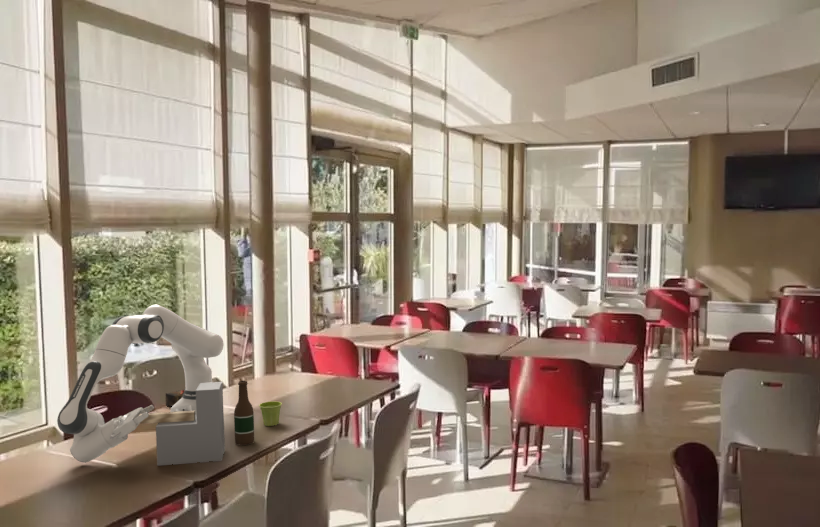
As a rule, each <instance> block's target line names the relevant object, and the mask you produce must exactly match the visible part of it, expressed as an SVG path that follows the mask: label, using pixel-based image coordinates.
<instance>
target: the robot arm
mask: <svg viewBox="0 0 820 527" xmlns="http://www.w3.org/2000/svg"><path fill="white" fill-rule="evenodd" d="M161 338H162V339H163V340H165V341H167V342H168V343H170V346H171V348H172V351H173V352H174V353H175V354H176V355H177V356H178V358H179V360H180V363H181V364H182V367H183V371H184V382H185V383H184V384H185V388H183V389H182V390H183V391H180V392H182V393H183V396H182V398H181V399H180V400H179V401H178V402H177V403H175V404H174V405H173V406H172V407H170V411H169V412H179V411H195V415H197V410H196V389H197V388H198V386H199V384H200V383H208V382H213V371H212V368H211V367H210V366H209V365H208V364H207V363H206V361H205V359H211V358H216V357H218V356H220V355H221V354H222V352H223V350H224V340H223V338H222V337H221V335H219V334H216V333H214V332H212V331H209V330H207V329H205V328H202V327H201V326H198V325H197V324H194V323H191V322H189V321H188V320H186V319H184V318H183V317H181V316H180V315H179V314H177V313H176V312H174V311H172V310H171V309H169V308H167V307H164V306H162V305H159V304H152V305H149V306H148V307H146V309H145V310H144V311H143V313H142V314H136V315H135V314H134V315H124V316H120V317H116V319H115V320H114V321H113V322H112V324H111V325H108V326H107V327H105V329H104V330H103V332H102V334H101V336H100V338H99V340H98V342H97V344H96V347H95V350H94V353H93V355H92V357H91V359H90V360H89V362H88V363H87V364H86V365H85V366H84V368H83V369H82V371H81V373H80V374H79V377H78V379H77V381H76V383H75V385H74V388H73V390H72V392H71V394H70V396H69V398H68V399H67V401H66V403H65V404H64V405H63V407H62V408H61V410H60V411H59V413H58V416H57V420H56V422H57V426H58V429H59V430H60V431H61V432H62V433H64V434H69V435H70V434H71V435H73V439H72V440H73V441H72V444H71V446H70V448H69V451H70V454H71V456H72V457H73V458H74V459H75V460H76V461H78V462H80V463H84V464H85V463H90V462H91V461H94V460H95V459H97V458H99V457H101V456H102V455H104V454H105V453H106V452H108V450H110V449H113V448H115V447H117V446H118V445H120V444H122V443H123V442H125V441H126V440H128V438H129V436H128V435H129V434H130V433H132V432H134V431H135V430H136V429H137V428H138V426H140V425H141V424H140V422H141V421H143V420H144V419H145V418H147V417H148V416H149V414H148V413H151V412H152V411H154V409H155V406H154V404H150V405H149V406H146V407H144V408H143V407H138V408H135V409H133V410H132V411H129V412H128V413H126V414H124V415H119V416H118V417H115V418H112V419H110V420H109V421H107V422H105V419H104V417H103V415H102V413H100V412H98V411H96V410H94V409H91V408H88V403H89V400H90V399H91V396H92V394H93V392H94V390H95V387H96V385H97V384H98V383H99V382H100V381H101V380H103V379H104V380H105V379H108V378H112V377H114V376H116V375H118V374H119V373H120V371H121V370H122V368H123V366H124V364H125V361H126V357H127V355H128V351H129V347H130V345H131V344H152V343H155V342H157V341H159V340H160V339H161ZM182 393H180V394H182ZM140 414H142V415H140ZM139 415H140V416H139Z"/></svg>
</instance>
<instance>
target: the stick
mask: <svg viewBox="0 0 820 527" xmlns="http://www.w3.org/2000/svg"><path fill="white" fill-rule="evenodd" d="M148 414H149V416H148V417H147V418H145V419H144V420H143V421H141V422H140V424H139V425H144V424H145V425H146V424H147V425H148V424H158V423H163V422H179V421H194V420H195V411H179V412H170V411H167V412H148ZM140 415H142V414H140ZM140 415H139V416H140Z"/></svg>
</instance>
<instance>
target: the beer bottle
mask: <svg viewBox="0 0 820 527" xmlns="http://www.w3.org/2000/svg"><path fill="white" fill-rule="evenodd" d="M248 384H249V383H248V381H247V380H240V381H238V384H237V385H238V399H237V400H238V401H237V403H236V405H235V408H234V411H233V412H234V414H233V420H234V421H233V423H234V443H235V445H238V446H246V445H247V446H248V444H249V445H251V444H253V442H255V418H254V416H255V414H254V407H253V404H252V403H251V402H250V400H249V394H248V393H249V392H248Z"/></svg>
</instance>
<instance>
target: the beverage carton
mask: <svg viewBox="0 0 820 527" xmlns="http://www.w3.org/2000/svg"><path fill="white" fill-rule="evenodd" d="M183 390H184V389H180V390H175V391H170V392H167V393H165V406H166V407H169V408H171V407H170V406H173V405H174V404H175V403H177V402H178V401H179V400H180V399H181V398H182V396H183V393H182V392H180V391H183ZM180 393H182V394H180Z"/></svg>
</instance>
